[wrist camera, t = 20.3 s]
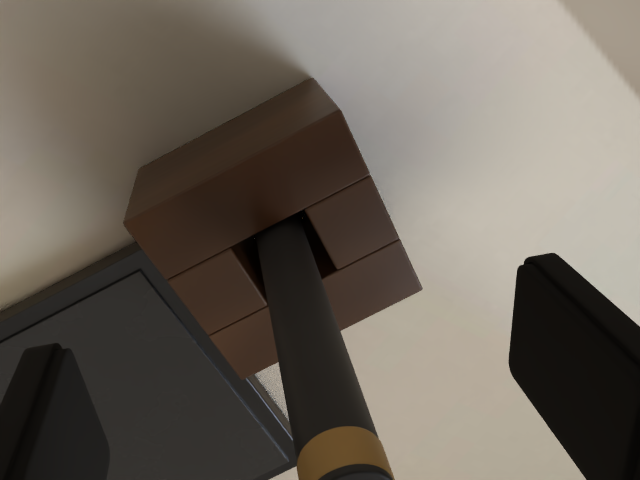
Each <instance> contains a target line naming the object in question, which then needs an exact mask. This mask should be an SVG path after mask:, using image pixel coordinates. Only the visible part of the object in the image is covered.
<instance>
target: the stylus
mask: <svg viewBox="0 0 640 480" xmlns="http://www.w3.org/2000/svg"><path fill="white" fill-rule="evenodd" d="M255 236H256V241H257V247H258V252H259V258H260V263H261V269H262V274H263V280H264V285H265V291H266V296H267V302H268V307H269V312H270V318H271V323H272V329H273V334H274V340H275V345H276V351H277V356H278V362H279V367H280V373H281V378H282V383H283V389H284V394H285V400H286V405H287V411H288V416H289V422H290V427H291V433H292V438H293V443H294V449H295V454H296V460H297V472H298V478H299V480H395V479H394V476H393V473H392V470H391V468H390V465H389V462H388V459H387V457H386V454H385V451H384V448H383V445H382V443H381V441H380V440H379V438H378V435H377V432H376V430H375V427H374V424H373V421H372V418H371V416H370V413H369V410H368V407H367V405H366V402H365V399H364V396H363V393H362V391H361V388H360V385H359V382H358V379H357V377H356V374H355V371H354V368H353V365H352V363H351V360H350V357H349V354H348V352H347V349H346V346H345V343H344V340H343V338H342V335H341V332H340V329H339V326H338V324H337V321H336V318H335V315H334V312H333V310H332V307H331V304H330V301H329V299H328V296H327V293H326V290H325V287H324V285H323V282H322V279H321V276H320V273H319V271H318V268H317V265H316V262H315V259H314V257H313V254H312V251H311V248H310V246H309V243H308V240H307V237H306V234H305V232H304V229H303V226H302V223H301V220H300V218H299V215H298V212H297V213H295V214H293V215H291V216H289V217H287V218H285V219H283V220H281V221H280V222H278V223H276V224H274V225H272V226H270V227H268V228H266V229H264V230H262V231H260V232H258V233H256V234H255Z"/></svg>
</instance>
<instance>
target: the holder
mask: <svg viewBox="0 0 640 480" xmlns="http://www.w3.org/2000/svg"><path fill="white" fill-rule="evenodd" d="M303 209H304V211H305V213H306V215H307V217H306V218H304V219H302V220H301V223H302V226H303V229H304V232H305V234H306V237H307V240H308V243H309V246H310V248H311V251H312V254H313V257H314V259H315V262H316V265H317V268H318V271H319V273H320V276H321V279H322V282H323V285H324V287H325V290H326V293H327V296H328V299H329V301H330V304H331V307H332V310H333V312H334V315H335V318H336V321H337V324H338V326H339V329H340V331H341V330H343V329H345V328H347V327H349V326H351V325H353V324H355V323H357V322H359V321H361V320H363V319H365V318H367V317H369V316H371V315H373V314H375V313H377V312H379V311H381V310H383V309H385V308H387V307H389V306H391V305H393V304H395V303H397V302H399V301H401V300H403V299H405V298H407V297H409V296H411V295H413V294H415V293H417V292H419V291H421V290H422V286H421V284H420V282H419V280H418V277H417V275H416V273H415V271H414V269H413V267H412V264H411V262H410V260H409V258H408V256H407V253H406V251H405V249H404V247H403V245H402V242H401V240H400V239H399V236H398V234H397V232H396V229H395V227H394V225H393V223H392V221H391V218H390V216H389V214H388V212H387V210H386V208H385V205H384V203H383V201H382V199H381V197H380V194H379V192H378V190H377V188H376V186H375V183H374V181H373V179H372V177H371V175H370V174H369V170H368V168H367V166H366V164H365V162H364V159H363V157H362V155H361V153H360V151H359V149H358V146H357V144H356V142H355V140H354V138H353V135H352V133H351V131H350V129H349V127H348V124H347V122H346V120H345V118H344V116H343V114H342V111H341V110H340V109H339V107H338V106H337V105H336V104H335V103H334V102H333V100H332V99H331V98H330V97H329V96H328V94H327V93H326V92H325V91H324V90H323V88H322V87H321V86H320V85H319V84H318V83H317V81H316V80H315V79H314V78H310V79H308V80H306V81H304V82H302V83H300V84H298V85H296V86H294V87H293V88H291V89H289V90H287V91H285V92H283V93H281V94H279V95H277V96H276V97H274V98H272V99H270V100H268V101H266V102H264V103H262V104H260V105H259V106H257V107H255V108H253V109H251V110H249V111H247V112H245V113H243V114H242V115H240V116H238V117H236V118H234V119H232V120H230V121H228V122H226V123H225V124H223V125H221V126H219V127H217V128H215V129H213V130H211V131H209V132H208V133H206V134H204V135H202V136H200V137H198V138H196V139H194V140H192V141H191V142H189V143H187V144H185V145H183V146H181V147H179V148H177V149H175V150H174V151H172V152H170V153H168V154H166V155H164V156H162V157H160V158H158V159H157V160H155V161H153V162H151V163H149V164H147V165H145V166H143V167H141V168H139V170H138V173H137V176H136V180H135V183H134V187H133V190H132V194H131V197H130V201H129V204H128V208H127V211H126V214H125V218H124V221H123V224H124V226H125V227H126V228H127V230H128V231H129V232H130V234H131V235H132V236H133V238H134V239H135V240H136V242H137V243H138V244H139V246H140V247H141V248H142V249H143V251H144V252H145V253H146V255H147V256H148V257H149V259H150V260H151V261H152V263H153V264H154V265H155V267H156V268H157V269H158V271H159V272H160V273H161V274H162V276H163V277H164V278H165V279H167V282H168V283H169V285H170V286H171V287H172V289H173V290H174V291H175V293H176V294H177V295H178V297H179V298H180V299H181V301H182V302H183V303H184V305H185V306H186V307H187V308H188V310H189V311H190V312H191V314H192V315H193V316H194V318H195V319H196V320H197V322H198V323H199V324H200V326H201V327H202V328H203V330H204V331H205V332H206V333H207V334H208V335H209V338H210V339H211V340H212V342H213V343H214V344H215V346H216V347H217V348H218V350H219V351H220V352H221V354H222V355H223V356H224V358H225V359H226V360H227V362H228V363H229V364H230V365H231V367H232V368H233V369H234V371H235V372H236V373H237V375H238V376H239V377H240V379H241V380H243V379H245V378H247V377H249V376H251V375H253V374H255V373H257V372H259V371H261V370H263V369H265V368H267V367H269V366H271V365H273V364H275V363H277V362H278V356H277V351H276V345H275V340H274V334H273V329H272V323H271V318H270V312H269V307H268V302H267V296H266V291H265V285H264V280H263V274H262V269H261V263H260V258H259V252H258V247H257V242H256V240H255V238H254V236H253V235H254V234H256V233H258V232H260V231H262V230H264V229H266V228H268V227H270V226H272V225H274V224H276V223H278V222H280V221H281V220H283V219H285V218H287V217H289V216H291V215H293V214H295V213H297V212H299V211H301V210H303Z"/></svg>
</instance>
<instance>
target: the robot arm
mask: <svg viewBox="0 0 640 480" xmlns="http://www.w3.org/2000/svg"><path fill="white" fill-rule="evenodd" d="M509 368H510V371H511V374H512V376H513V378H514V379H515V380H516V382H517V383H518V385H519V386H520V387H521V389H522V390H523V392H524V393H525V394H526V396H527V397H528V399H529V400H530V401H531V403H532V404H533V406H534V407H535V408H536V410H537V411H538V413H539V414H540V415H541V417H542V418H543V420H544V421H545V422H546V424H547V425H548V427H549V428H550V429H551V431H552V432H553V433H554V435H555V436H556V438H557V439H558V440H559V442H560V443H561V445H562V446H563V447H564V449H565V450H566V452H567V453H568V454H569V456H570V457H571V459H572V460H573V461H574V463H575V464H576V466H577V467H578V468H579V470H580V471H581V473H582V474H583V475H584V477H585V478H586V480H640V327H639V326H638V325H637V324H636V323H635V322H634V321H633V320H631V319H630V318H629V317H628V316H627V315H626V314H625V313H623V312H622V311H621V310H620V309H619V308H618V307H617V306H615V305H614V304H613V303H612V302H611V301H610V300H609V299H607V298H606V297H605V296H604V295H603V294H602V293H601V292H599V291H598V290H597V289H596V288H595V287H594V286H593V285H591V284H590V283H589V282H588V281H587V280H586V279H585V278H583V277H582V276H581V275H580V274H579V273H578V272H577V271H575V270H574V269H573V268H572V267H571V266H570V265H569V264H567V263H566V262H565V261H564V260H563V259H562V258H561V257H559V256H558V255H557V254H555V253H549V254H543V255H537V256H532V257H528V258H526V260H525V261H524V265H521V266H519V267H518V270H517V278H516V288H515V299H514V309H513V320H512V330H511V341H510V351H509ZM109 463H110V449H109V444H108V441H107V438H106V436H105V433H104V431H103V428H102V426H101V423H100V420H99V418H98V415H97V413H96V410H95V408H94V405H93V402H92V400H91V397H90V395H89V392H88V390H87V387H86V384H85V382H84V379H83V377H82V374H81V372H80V369H79V367H78V364H77V361H76V359H75V356H74V354H73V352H72V350H71V349H70V348H66V349H62V347H61V345H60V344H59V343H52V344H47V345H41V346H36V347H30V348H27V349H25V350H24V352H23V354H22V356H21V358H20V361H19V363H18V365H17V368H16V370H15V372H14V374H13V377H12V379H11V381H10V384H9V386H8V388H7V390H6V393H5V395H4V397H3V400H2V402H1V404H0V480H107V474H108V468H109Z"/></svg>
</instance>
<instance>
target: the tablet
mask: <svg viewBox="0 0 640 480" xmlns="http://www.w3.org/2000/svg"><path fill="white" fill-rule="evenodd" d="M52 343H59V344H60V345H61V347H62V349H66V348H70V349H71V350H72V352H73V354H74V356H75V359H76V361H77V364H78V367H79V369H80V372H81V374H82V377H83V379H84V382H85V384H86V387H87V390H88V392H89V395H90V397H91V400H92V402H93V405H94V408H95V410H96V413H97V415H98V418H99V420H100V423H101V426H102V428H103V431H104V433H105V436H106V438H107V441H108V444H109V449H110V463H109V468H108V474H107V480H269V479H271V478H273V477H275V476H277V475H279V474H281V473H283V472H285V471H287V470H289V469H291V468H293V467H295V466H297V460H296V454H295V449H294V443H293V438H292V433H291V427H290V423H289V421H288V420H287V419H286V417H285V416H284V415H283V413H282V412H281V411H280V409H279V408H278V406H277V405H276V404H275V402H274V401H273V400H272V398H271V397H270V396H269V394H268V393H267V392H266V390H265V389H264V387H263V386H262V385H261V383H260V382H259V381H258V379H257V378H256V377H255V375H254V374H253V375H251V376H249V377H247V378H245V379H243V380H241V379H240V377H239V376H238V375H237V373H236V372H235V371H234V369H233V368H232V367H231V365H230V364H229V363H228V362H227V360H226V359H225V358H224V356H223V355H222V354H221V352H220V351H219V350H218V348H217V347H216V346H215V344H214V343H213V342H212V340H211V339H210V338H209V335H208V334H207V333H206V332H205V331H204V330H203V328H202V327H201V326H200V324H199V323H198V322H197V320H196V319H195V318H194V316H193V315H192V314H191V312H190V311H189V310H188V308H187V307H186V306H185V305H184V303H183V302H182V301H181V299H180V298H179V297H178V295H177V294H176V293H175V291H174V290H173V289H172V287H171V286H170V285H169V283H168V282H167V279H165V278H164V277H163V276H162V274H161V273H160V272H159V271H158V269H157V268H156V267H155V265H154V264H153V263H152V261H151V260H150V259H149V257H148V256H147V255H146V253H145V252H144V251H143V249H142V248H141V247H140V246H139V244H138V243H137V242H135V243H133V244H131V245H129V246H127V247H125V248H123V249H121V250H119V251H118V252H116V253H114V254H112V255H110V256H108V257H106V258H104V259H102V260H100V261H98V262H96V263H95V264H93V265H91V266H89V267H87V268H85V269H83V270H81V271H79V272H77V273H75V274H73V275H72V276H70V277H68V278H66V279H64V280H62V281H60V282H58V283H56V284H54V285H52V286H50V287H49V288H47V289H45V290H43V291H41V292H39V293H37V294H35V295H33V296H31V297H29V298H27V299H25V300H24V301H22V302H20V303H18V304H16V305H14V306H12V307H10V308H8V309H6V310H4V311H2V312H1V313H0V404H1V402H2V400H3V397H4V395H5V393H6V390H7V388H8V386H9V384H10V381H11V379H12V377H13V374H14V372H15V370H16V368H17V365H18V363H19V361H20V358H21V356H22V354H23V352H24V350H25V349H27V348H30V347H36V346H41V345H47V344H52Z"/></svg>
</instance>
